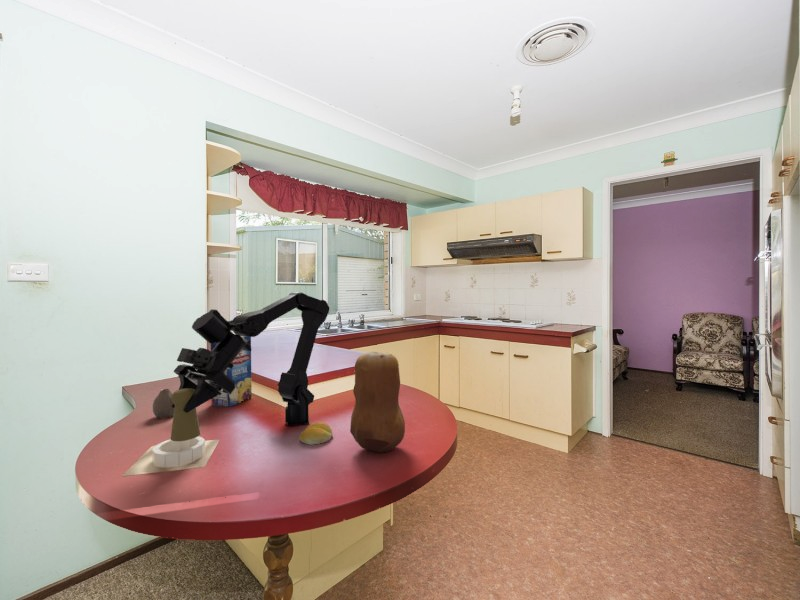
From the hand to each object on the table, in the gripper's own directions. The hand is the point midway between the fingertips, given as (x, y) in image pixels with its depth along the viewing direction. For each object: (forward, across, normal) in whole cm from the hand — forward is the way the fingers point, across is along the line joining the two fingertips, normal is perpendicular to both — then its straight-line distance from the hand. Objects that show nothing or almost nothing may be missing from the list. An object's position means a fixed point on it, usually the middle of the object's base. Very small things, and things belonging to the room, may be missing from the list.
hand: (178, 409), depth 84 cm
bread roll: (-10, +14, +30) cm, 35 cm away
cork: (+4, 0, +6) cm, 7 cm away
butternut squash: (-13, +33, +33) cm, 48 cm away
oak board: (+9, -4, +10) cm, 14 cm away
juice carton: (-16, -37, +35) cm, 54 cm away
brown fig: (-1, -40, +20) cm, 45 cm away
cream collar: (+8, -3, +10) cm, 13 cm away
